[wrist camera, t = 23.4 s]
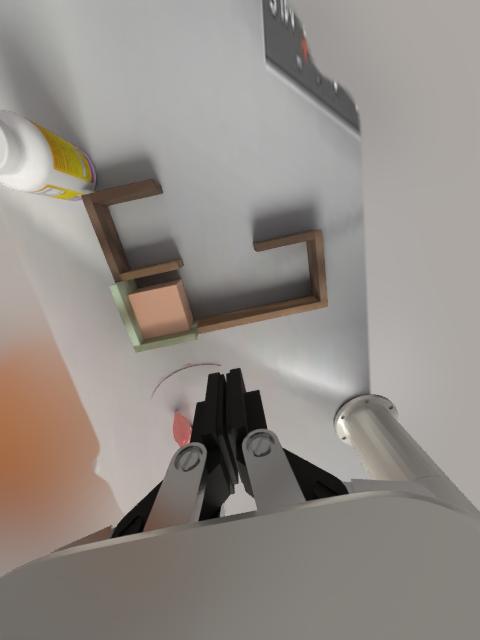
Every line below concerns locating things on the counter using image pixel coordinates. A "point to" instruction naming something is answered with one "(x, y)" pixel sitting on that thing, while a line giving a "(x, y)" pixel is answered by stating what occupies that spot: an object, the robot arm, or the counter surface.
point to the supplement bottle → (42, 161)
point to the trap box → (125, 276)
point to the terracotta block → (161, 309)
